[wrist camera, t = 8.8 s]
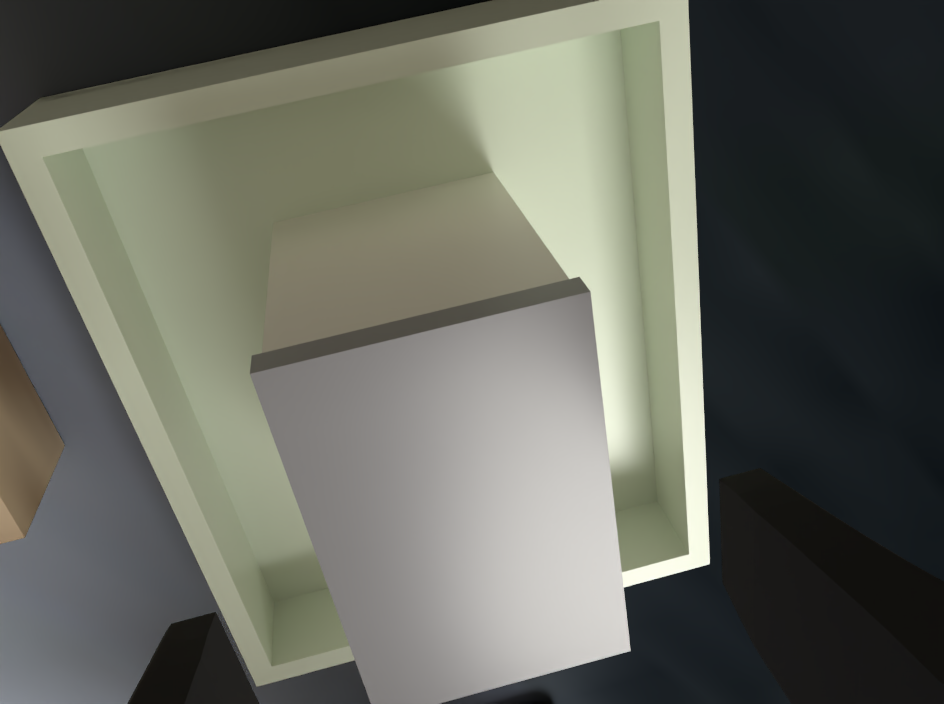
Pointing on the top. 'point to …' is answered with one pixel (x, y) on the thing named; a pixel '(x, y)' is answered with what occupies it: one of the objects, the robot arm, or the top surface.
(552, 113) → the tray
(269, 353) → the grey box
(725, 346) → the top surface
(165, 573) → the top surface
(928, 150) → the top surface
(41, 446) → the dock
